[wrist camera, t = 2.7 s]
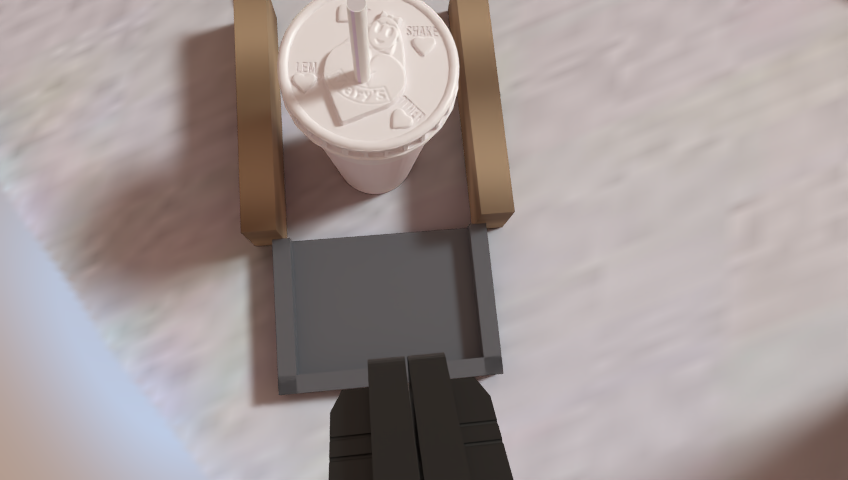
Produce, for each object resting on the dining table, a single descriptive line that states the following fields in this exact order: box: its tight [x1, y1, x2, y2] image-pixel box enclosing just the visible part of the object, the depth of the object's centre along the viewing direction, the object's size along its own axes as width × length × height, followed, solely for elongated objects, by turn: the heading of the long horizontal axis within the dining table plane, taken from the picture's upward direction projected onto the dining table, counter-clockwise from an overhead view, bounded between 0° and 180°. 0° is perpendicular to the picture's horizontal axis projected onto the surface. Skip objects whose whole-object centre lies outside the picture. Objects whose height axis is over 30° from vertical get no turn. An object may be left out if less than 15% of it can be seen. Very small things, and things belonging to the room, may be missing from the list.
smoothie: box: [277, 0, 459, 194], centre depth 23 cm, size 6×6×14 cm
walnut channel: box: [233, 0, 515, 246], centre depth 29 cm, size 12×12×3 cm
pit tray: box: [272, 223, 503, 395], centre depth 28 cm, size 7×10×1 cm
